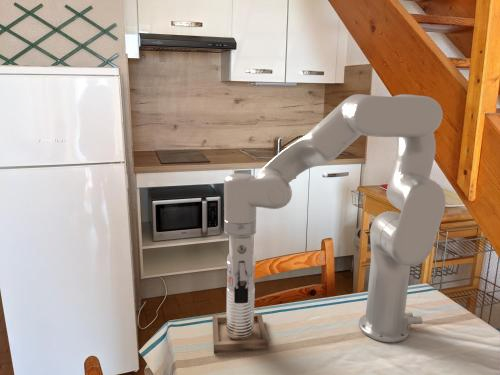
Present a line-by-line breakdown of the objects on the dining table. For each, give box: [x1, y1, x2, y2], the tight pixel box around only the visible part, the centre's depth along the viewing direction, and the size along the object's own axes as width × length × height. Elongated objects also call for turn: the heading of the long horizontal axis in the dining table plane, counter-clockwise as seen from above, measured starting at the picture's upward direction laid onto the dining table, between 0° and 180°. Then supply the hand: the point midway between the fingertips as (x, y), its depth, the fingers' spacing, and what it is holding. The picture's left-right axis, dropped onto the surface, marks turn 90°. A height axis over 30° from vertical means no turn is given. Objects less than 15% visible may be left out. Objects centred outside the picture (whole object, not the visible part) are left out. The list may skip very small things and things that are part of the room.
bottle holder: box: [212, 312, 270, 354], centre depth 108 cm, size 13×13×2 cm
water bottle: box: [226, 248, 256, 340], centre depth 105 cm, size 7×7×25 cm
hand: (239, 293), depth 106 cm, fingers open, 7 cm apart
